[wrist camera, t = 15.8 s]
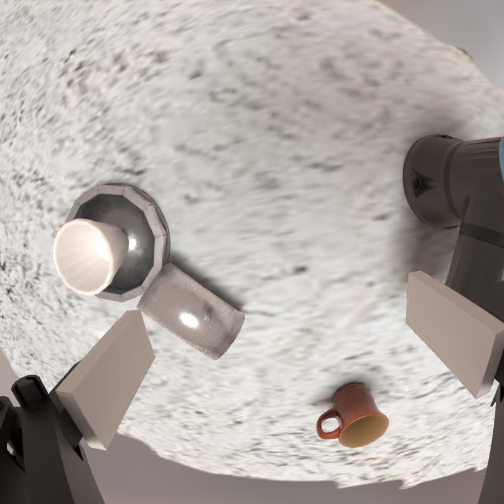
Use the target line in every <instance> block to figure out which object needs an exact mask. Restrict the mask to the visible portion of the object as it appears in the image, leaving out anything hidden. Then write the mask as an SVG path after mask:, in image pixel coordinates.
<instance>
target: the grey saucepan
mask: <svg viewBox="0 0 504 504" xmlns="http://www.w3.org/2000/svg"><path fill="white" fill-rule="evenodd" d="M79 218H82V219H88V220H92V221H95V222H100V223H106V224H112V225H116V226H118V227H119V228H121V229H122V230H123V232H124V233H125V235H126V236H127V240H128V243H129V245H128V253H127V255H126V257H125V259H124V261H123V263H122V264H121V266H120V267H119V269H118V271H117V272H116V274H115V276H114V277H113V279H112V282H111V284H109V285H108V286H107V287H106V288H105V289H104V290H102V291H101V292H100V293H99V294H95V296H97V297H98V298H103V299H108V300H113V301H118V302H125V301H128V300H130V299H132V298H135V297H137V296H140V295H142V294H143V296H142V297H141V299H140V301H139V303H138V305H137V308H138V309H139V310H141V311H142V312H143V313H145V314H146V315H147V316H149V317H150V318H151V319H153V320H154V321H156V322H157V323H158V324H160V325H161V326H163V327H164V328H166V329H167V330H168V331H170V332H171V333H173V334H174V335H176V336H177V337H179V338H180V339H182V340H183V341H185V342H186V343H188V344H189V345H191V346H192V347H194V348H195V349H197V350H198V351H200V352H201V353H203V354H205V355H206V356H208V357H209V358H211V359H213V360H217V359H219V358H220V357H221V356H222V355H223V354H224V353H225V352H226V351H227V350H228V348H229V347H230V346H231V344H232V343H233V342H234V340H235V338H236V337H237V335H238V333H239V332H240V330H241V328H242V325H243V323H244V319H245V315H244V314H242V313H241V312H239V311H238V310H236V309H235V308H234V307H232V306H231V305H229V304H228V303H226V302H225V301H223V300H222V299H220V298H219V297H218V296H216V295H215V294H213V293H212V292H210V291H209V290H208V289H206V288H205V287H203V286H202V285H201V284H199V283H198V282H196V281H195V280H194V279H192V278H191V277H189V276H188V275H187V274H185V273H184V272H182V271H181V270H180V269H178V268H177V267H176V266H174V265H173V264H172V263H170V262H168V259H169V254H170V236H169V230H168V226H167V223H166V220H165V218H164V216H163V214H162V212H161V210H160V209H159V207H158V206H157V204H156V203H155V202H154V201H153V200H152V198H150V197H149V196H148V195H147V194H146V193H144V192H143V191H141V190H140V189H138V188H136V187H134V186H131V185H127V184H120V183H116V184H106V185H97V186H96V187H94V188H93V189H91V190H90V191H88V192H87V193H85V194H84V195H82V196H81V197H79V198H78V199H76V200H75V202H74V205H73V207H72V209H71V211H70V213H69V215H68V217H67V220H66V222H65V223H67V222H70V221H72V220H75V219H79Z"/></svg>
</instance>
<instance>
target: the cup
mask: <svg viewBox="0 0 504 504" xmlns="http://www.w3.org/2000/svg"><path fill="white" fill-rule="evenodd" d="M128 245H129V243H128V240H127V236H126V235H125V233H124V232H123V230H122V229H121V228H119V227H118V226H116V225H112V224H106V223H100V222H95V221H92V220H88V219H82V218H79V219H75V220H72V221H70V222H67V223H65V224H64V225H63V226H62V228H61V229H60V230H59V231H58V232H57V235H56V238H55V241H54V244H53V257H54V263H55V266H56V269H57V272H58V274H59V276H60V277H61V279H62V280H63V281H64V283H65V284H66V285H67V286H68V287H69V288H71V289H72V290H73V291H75V292H76V293H79V294H83V295H86V296H90V295H95V294H99V293H100V292H101V291H102V290H104V289H105V288H106V287H107V286H108V285H109V284H111V282H112V279H113V277H114V276H115V274H116V272H117V271H118V269H119V267H120V266H121V264H122V263H123V261H124V259H125V257H126V255H127V253H128Z"/></svg>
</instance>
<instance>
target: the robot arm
mask: <svg viewBox="0 0 504 504" xmlns="http://www.w3.org/2000/svg"><path fill="white" fill-rule="evenodd" d="M403 183H404V190H405V194H406V197H407V200H408V203H409V205H410V207H411V209H412V210H413V212H414V213H415V214H416V215H417V217H418V218H419V219H420V220H422V221H423V222H424V223H426V224H428V225H430V226H433V227H437V228H441V229H451V228H455V227H458V226H460V225H461V226H460V231H459V234H458V239H457V243H456V247H455V251H454V255H453V259H452V262H451V266H450V270H449V273H448V276H447V280H446V283H445V285H444V284H442V283H441V282H439V281H437V280H436V279H434V278H432V277H431V276H429V275H427V274H426V273H424V272H422V271H416V272H411V273H408V294H407V311H406V324H407V325H408V326H409V327H410V328H411V329H412V330H413V331H414V332H415V333H416V334H417V335H418V336H419V337H420V338H421V339H422V340H423V341H424V342H425V344H426V345H427V346H428V347H429V348H430V349H431V350H432V351H433V352H434V353H435V354H436V355H437V356H438V357H439V358H440V360H441V361H442V362H443V363H444V364H445V365H446V366H447V367H448V368H449V369H450V370H451V372H452V373H453V374H454V375H455V376H456V377H457V378H458V379H459V380H460V382H461V383H462V384H463V385H464V386H465V387H466V388H467V390H468V391H469V392H470V393H471V394H472V395H473V396H474V398H475V399H477V398H479V397H481V396H482V395H484V394H486V393H488V392H490V390H491V387H492V384H493V382H494V379H496V380H497V381H498V382H499V386H498V388H497V391H496V393H495V396H494V398H493V401H492V403H491V406H492V407H493V405H494V403H495V402H496V410H495V421H494V429H493V437H492V444H491V450H490V456H489V461H488V466H487V471H486V475H485V479H484V483H483V487H482V491H481V494H480V498H479V502H478V504H504V137H495V138H487V139H480V140H473V141H462V140H459V139H457V138H453V137H451V136H448V135H443V134H436V135H431V136H427V137H424V138H422V139H420V140H419V141H417V142H416V143H415V144H414V145H413V147H412V148H411V149H410V151H409V153H408V155H407V158H406V161H405V165H404V171H403ZM466 235H467V236H466ZM469 236H470V237H469ZM154 359H155V355H154V352H153V349H152V346H151V343H150V340H149V337H148V334H147V331H146V328H145V324H144V321H143V318H142V314H141V311H140V310H132V311H126V312H125V314H124V315H123V316H122V317H121V318H120V319H119V320H118V321H117V322H116V323H115V324H114V325H113V326H112V327H111V328H110V329H109V331H108V332H107V333H106V334H105V335H104V336H103V337H102V338H101V339H100V340H99V341H98V343H97V344H96V345H95V346H94V347H93V348H92V349H91V350H90V351H89V352H88V354H87V355H86V356H85V357H84V358H83V359H82V360H80V361H79V362H77V363H76V364H74V366H73V367H72V368H71V369H70V370H69V371H68V372H69V373H66V375H65V376H64V378H62V379H61V380H60V381H59V382H58V384H57V385H56V386H55V387H54V388H53V389H52V391H51V392H50V393H49V394H48V392H47V390H46V389H45V387H44V385H43V383H42V381H41V379H40V377H39V376H37V375H28V376H24V377H22V378H20V379H19V380H17V381H16V382H15V383H14V384H13V385H12V388H11V390H12V392H13V394H14V395H15V397H16V399H17V400H18V402H19V404H20V406H21V407H14V406H13V404H12V403H11V401H10V399H9V398H8V397H6V396H1V397H0V504H105V503H104V501H103V498H102V496H101V494H100V492H99V489H98V487H97V484H96V482H95V480H94V477H93V474H92V472H91V469H90V466H89V464H88V461H87V458H86V455H85V452H84V449H83V448H82V446H81V445H80V443H79V442H80V440H81V439H82V437H84V439H85V440H86V441H87V443H88V444H89V446H90V447H93V448H99V449H103V450H107V448H108V446H109V444H110V442H111V440H112V438H113V436H114V434H115V432H116V430H117V428H118V426H119V425H120V423H121V421H122V419H123V417H124V415H125V413H126V411H127V409H128V407H129V405H130V403H131V401H132V400H133V398H134V396H135V394H136V392H137V390H138V388H139V386H140V384H141V383H142V381H143V379H144V377H145V375H146V373H147V371H148V370H149V368H150V366H151V364H152V362H153V360H154ZM7 443H8V444H9V445H10V447H11V448H12V449H13V454H10V452H9V451H8V450H7Z"/></svg>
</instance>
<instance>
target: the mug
mask: <svg viewBox="0 0 504 504" xmlns="http://www.w3.org/2000/svg"><path fill="white" fill-rule="evenodd" d="M328 418H336V419H337V421H338V423H339V427H338V428H337V429H335V430H334V431H332V432H328V433H326V432H323V431H322V423H323V422H324V421H325V420H326V419H328ZM388 425H389V421H388V418H387V417H386V416H385V415H384V414H383V413H381V412H380V411H379V410H378V408H377V406H376V403H375V401H374V399H373V397H372V394H371V392H370V391H369V390H368V388H367V387H365V386H364V385H362V384H359V383H354V384H349V385H346V386H344V387H343V388H341V389H340V390H339V391H338V392H337V393H336V394H335V395H334V398H333V408H332V409H330V410H328V411H327V412H325V413H324V414H322V415H321V416H320V417H319V419H318V421H317V426H316V427H317V434H318V436H319V437H320V438H322V439H336V438H339V442H340V444H342V445H343V446H346V447H351V448H356V447H361V446H365V445H368V444H370V443H372V442H374V441H375V440H377V439H378V438H380V437H381V436H382V435H383V434H384V433H385V431H386V430H387V428H388Z"/></svg>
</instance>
